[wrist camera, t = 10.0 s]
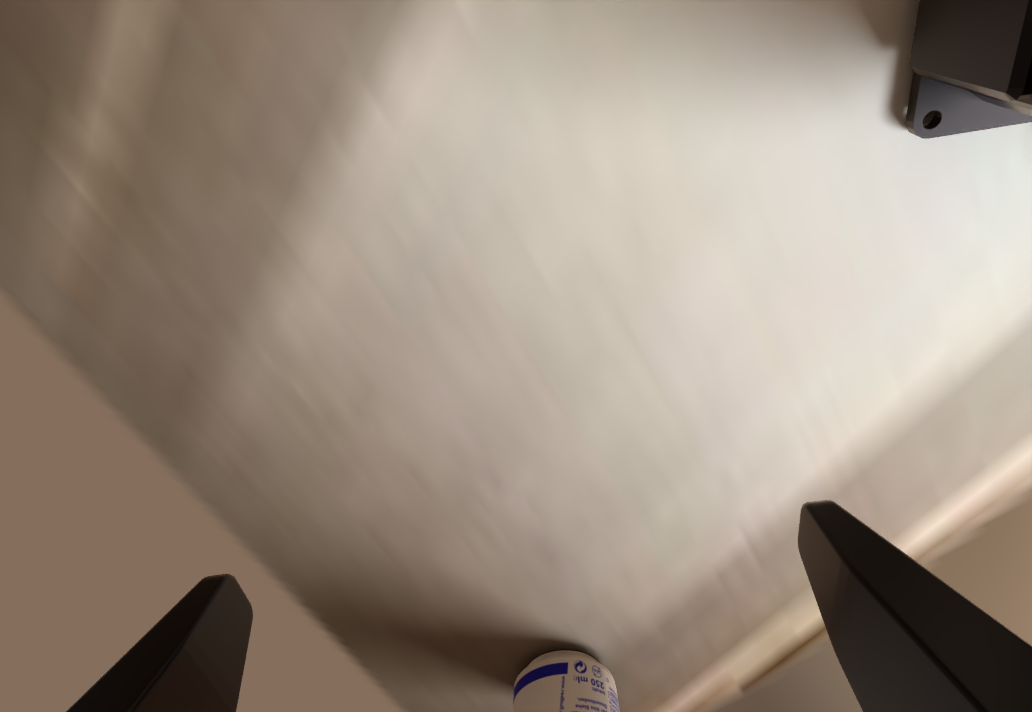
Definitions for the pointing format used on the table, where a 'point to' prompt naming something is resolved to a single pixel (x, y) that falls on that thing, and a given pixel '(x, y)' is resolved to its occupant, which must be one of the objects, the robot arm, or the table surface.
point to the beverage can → (565, 685)
